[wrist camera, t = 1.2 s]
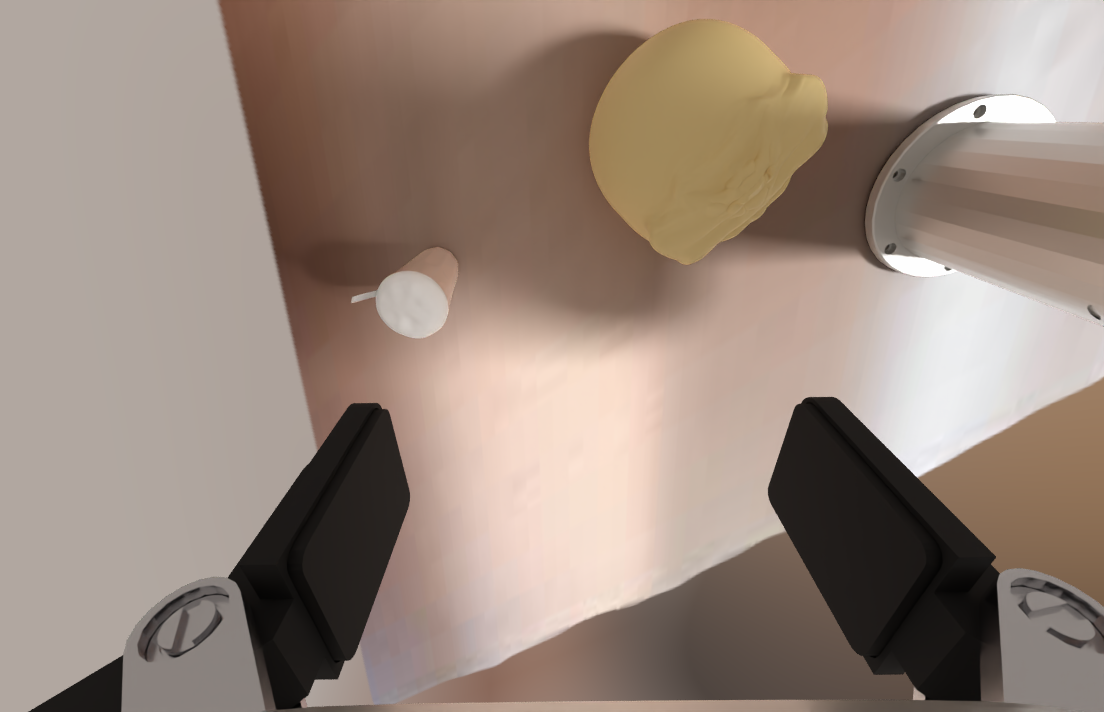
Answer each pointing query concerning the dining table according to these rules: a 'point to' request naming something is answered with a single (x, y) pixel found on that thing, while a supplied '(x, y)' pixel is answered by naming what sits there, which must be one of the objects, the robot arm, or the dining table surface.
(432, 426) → the dining table surface
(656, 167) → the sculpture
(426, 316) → the milkshake
